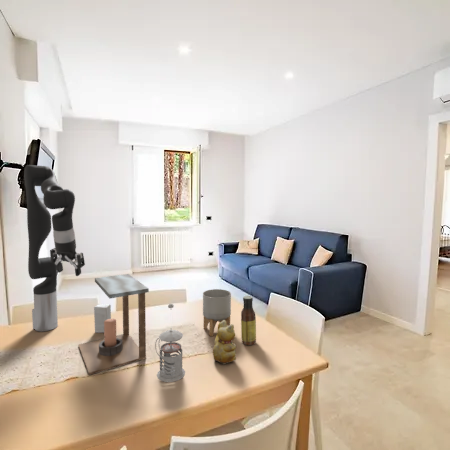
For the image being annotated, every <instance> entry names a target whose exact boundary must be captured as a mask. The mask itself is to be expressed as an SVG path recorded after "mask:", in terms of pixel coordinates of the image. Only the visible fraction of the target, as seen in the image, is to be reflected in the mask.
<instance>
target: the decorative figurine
mask: <svg viewBox="0 0 450 450" xmlns="http://www.w3.org/2000/svg"><path fill="white" fill-rule="evenodd" d="M235 337H236V332H235V325H234V324H233V323H230V325H229V326H228V325H227V323H226V321H225V320H223V321H222V322H220V323H219V322H218V324H217V332H216V336H215V338H214V339H215V340H214V344H213V345H214V346H213V349H212V356H213V360H214V361H217V362H219V363H220V365H225V364H227V363H231V362H234V361H235V360H236V359H237V358H236V354H237V353H236V349H237V345H236V343H233V340H234V339H235Z"/></svg>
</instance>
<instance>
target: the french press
mask: <svg viewBox="0 0 450 450" xmlns="http://www.w3.org/2000/svg"><path fill="white" fill-rule="evenodd" d="M167 307H168V309H173V308H174V307H175V306H174V304H173V303H169V304H168V306H167ZM183 337H184V334H183V332H182V331H179V330H176V329H167V330H165V331H162V332H161V333H160V334H159V336H158V338H157V339H156V340H155V342H154V343H155V345H154V348H155V352H156V354H157V355H158V357H159V370H158V371H157V374H156V377H157V379H158V380H159V381H161V382H165V383H174V382H178V381H180V380H181V379H183V378H184V376H185V375H186V370H185V369H184V368H183V348H182V345H181V343H179V342H177V341H180V340H181V339H182V338H183ZM160 341H161V342H165V343H164V344H162V345H161V346H160V345H158V348H159V352H158V351H157V342H160Z"/></svg>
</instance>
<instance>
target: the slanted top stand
mask: <svg viewBox="0 0 450 450" xmlns="http://www.w3.org/2000/svg"><path fill="white" fill-rule="evenodd" d="M94 283H95V284H96V285H98V287H99V288H100V289H101V291H102V292H103V293H104V294H105V295H106V296H107V298H109V299H116V298H122V334H118V335H117V334H116V340H117V345H116V346H113V347H105V338H102V339H97V340H93V341H88V342H84V343H80V344H78V348H79V351H80V354H81V356H82V359H83V362H84V364H85V368H86V370H87V372H88V375H89V376H90V375H94V374H97V373H101V372H104V371H108V370H110V369H114V368H118V367H120V366H121V367H122V366H124V365H128V364H130V363H131V364H132V363H134V362H138V361H142V360H145V359H147V349H146V347H147V345H146V344H147V337H146V332H147V331H146V329H147V328H146V325H147V324H146V293H149V292H150V291H149V290H150V289H149V287H148V286H146V285H144V284H143V283H142V282H141V281H139V280H137V279H136V278H135V277H133V276H132V275H130V274H129V273H125V274H119V275H118V274H117V275H110V276H109V275H108V276H102V277H95V278H94ZM133 295H137V298H138V299H137V300H138V301H137V302H138V304H137V305H138V308H137V309H138V311H137V312H138V344H137V343H136V342H135V340H134V339H133V338H132V337H131V335H130V314H129V313H130V312H129V310H130V309H129V296H133Z"/></svg>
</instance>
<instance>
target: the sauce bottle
mask: <svg viewBox="0 0 450 450" xmlns="http://www.w3.org/2000/svg"><path fill="white" fill-rule="evenodd" d="M253 298H254V297H253V296H251V295H245V296H243V297H242V301H243V308H242V309H241V313H240V316H241V317H240V321H241V323H240V325H241V326H240V328H241V331H240V333H241V335H240V336H241V337H240V338H241V342H242V344H243V345H244V346H253V345H255V344H256V343H257V327H256V326H257V324H256V323H257V322H256V321H257V320H256V312H255V310H254V307H253V301H254V299H253Z"/></svg>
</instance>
